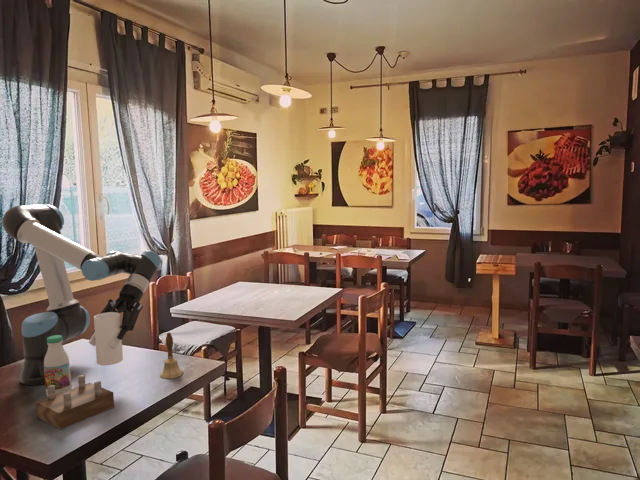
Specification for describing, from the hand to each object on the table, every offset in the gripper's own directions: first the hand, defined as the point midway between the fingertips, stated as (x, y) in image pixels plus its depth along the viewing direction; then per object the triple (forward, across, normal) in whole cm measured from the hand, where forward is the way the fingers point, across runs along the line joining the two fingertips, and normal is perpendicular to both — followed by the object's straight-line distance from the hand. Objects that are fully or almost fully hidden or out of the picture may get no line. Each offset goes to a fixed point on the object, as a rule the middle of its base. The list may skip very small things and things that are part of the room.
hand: (101, 345), depth 162 cm
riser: (+21, -2, -3) cm, 21 cm away
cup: (+2, 0, -7) cm, 7 cm away
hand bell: (-4, -10, -28) cm, 30 cm away
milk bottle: (+16, +16, -9) cm, 24 cm away
